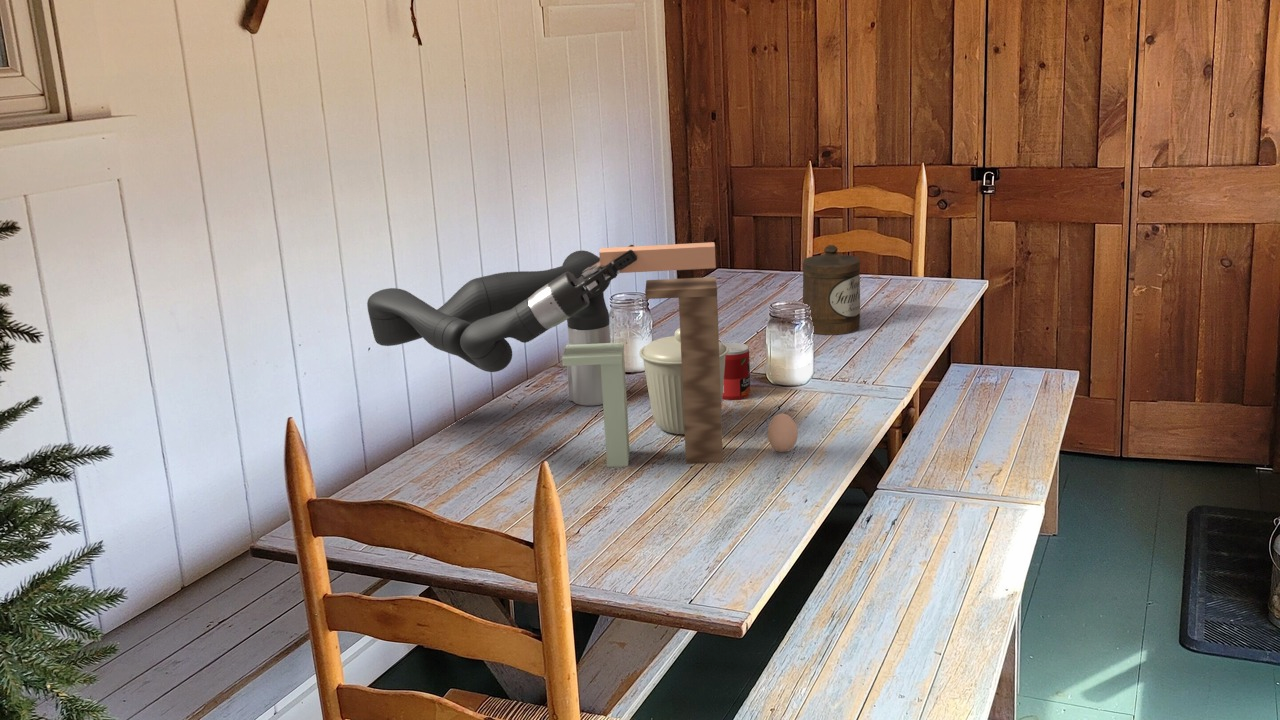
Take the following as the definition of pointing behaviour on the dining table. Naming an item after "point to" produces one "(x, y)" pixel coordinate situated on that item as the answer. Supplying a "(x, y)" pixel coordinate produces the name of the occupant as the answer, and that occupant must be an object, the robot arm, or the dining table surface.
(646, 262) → the peach rectangular bar
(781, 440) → the egg
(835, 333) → the wooden container
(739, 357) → the canned food
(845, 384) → the dining table surface
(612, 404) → the sage ledge
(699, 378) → the walnut stand
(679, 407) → the canister
